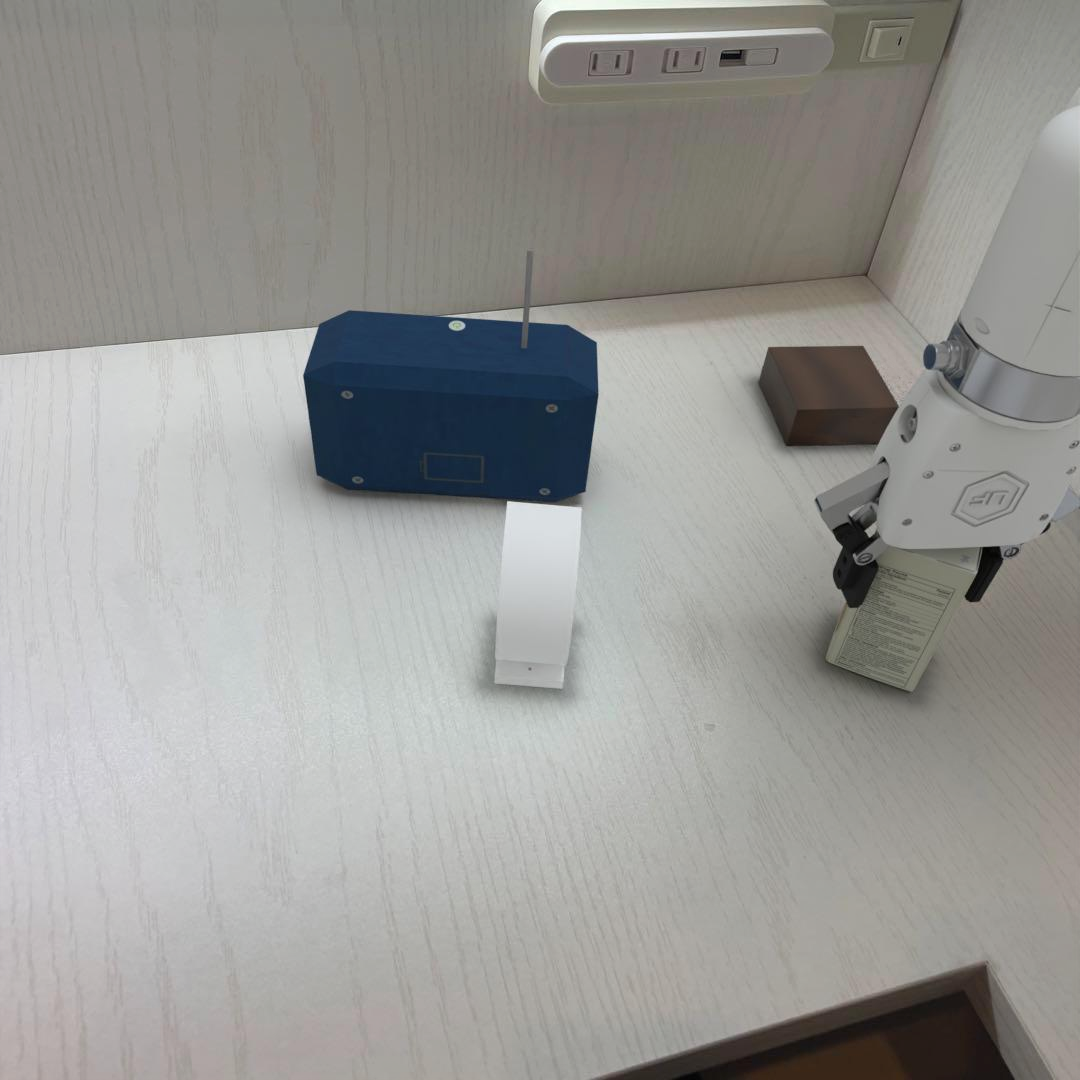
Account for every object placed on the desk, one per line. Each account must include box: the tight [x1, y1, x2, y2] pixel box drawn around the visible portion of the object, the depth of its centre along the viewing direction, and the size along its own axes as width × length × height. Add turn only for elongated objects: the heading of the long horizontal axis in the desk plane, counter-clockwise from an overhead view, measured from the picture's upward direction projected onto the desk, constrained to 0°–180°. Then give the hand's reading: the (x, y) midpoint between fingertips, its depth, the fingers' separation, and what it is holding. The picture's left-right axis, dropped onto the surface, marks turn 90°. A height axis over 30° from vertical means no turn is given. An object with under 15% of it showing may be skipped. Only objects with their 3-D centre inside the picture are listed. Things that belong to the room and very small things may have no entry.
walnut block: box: [758, 345, 900, 447], centre depth 86 cm, size 9×9×4 cm
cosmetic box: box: [825, 528, 983, 693], centre depth 64 cm, size 6×4×12 cm
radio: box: [302, 249, 599, 503], centre depth 72 cm, size 21×9×20 cm, turn 89°
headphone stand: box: [493, 500, 583, 690], centre depth 61 cm, size 5×6×12 cm
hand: (905, 587), depth 63 cm, fingers closed on cosmetic box, 7 cm apart
